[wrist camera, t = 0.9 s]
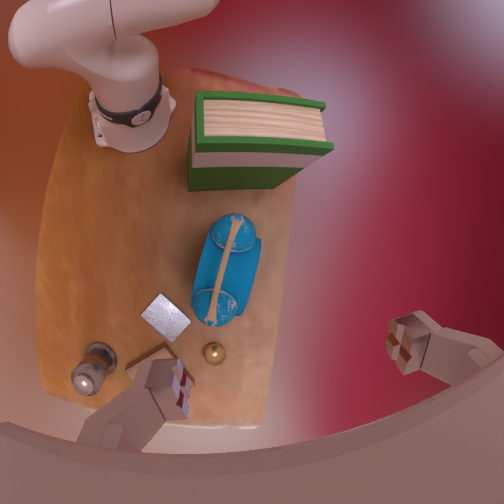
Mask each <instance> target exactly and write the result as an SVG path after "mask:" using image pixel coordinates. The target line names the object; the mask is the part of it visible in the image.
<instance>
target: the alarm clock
mask: <svg viewBox="0 0 504 504" xmlns="http://www.w3.org/2000/svg"><path fill="white" fill-rule="evenodd" d="M260 251H261V239H258V238H256V233H255V229H254V226H253V224H252V223H251V222H250V220H249V219H248V218H246V217H245V216H243V215H240V214H227V215H225V216H223V217H221V218H220V219H219V220H218V221H217V222H214V223H213V224H212V226H211V229H210V231H209V234H208V236H207V239H206V242H205V245H204V248H203V251H202V254H201V258H200V262H199V265H198V269H197V273H196V277H195V281H194V286H193V291H192V297H191V308H193V310H194V313H195V315H196V317H197V318H198V319H199V320H200V321H201V322H202V323H204V324H206V325H208V326H212V327H219V326H222V325H225V324H227V323H228V322H229V321H231V320H232V319H233V317H234V316H241V315H242V313H243V312H244V309H245V307H246V304H247V301H248V298H249V295H250V292H251V289H252V285H253V282H254V278H255V274H256V270H257V266H258V261H259V256H260Z"/></svg>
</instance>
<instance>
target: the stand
mask: <svg viewBox="0 0 504 504" xmlns="http://www.w3.org/2000/svg"><path fill="white" fill-rule="evenodd" d="M169 358H177V357H176V356H175V355H174V353H173V352H172V351H171V349H170V348H169V346H168V345H167V344H166V342H165V343H163V344H161V345H160V346H158V347H156V348H155V349H153V350H152V351H150V352H148V353H147V354H145V355H143V356H142V357H140V358H138V359H137V360H135V361H133V362H132V363H130V364H128V365H127V366H126V369H125V372H126V373H127V375H128V376H129V377H130V378H131V380H132V381H133V380H134V377H135V375H136V372H137V369H138V367H139V364H140V362H141V361H142V360H143V359H169ZM183 372H184V373H185V374H187V376H188V379H189V384H190V388H192V387H193V386H195V384H194V379H193V378H192V377H191V375H190V374H189V373H188V372H187V370H186V369H185V368H183Z"/></svg>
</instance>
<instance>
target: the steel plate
mask: <svg viewBox="0 0 504 504" xmlns="http://www.w3.org/2000/svg"><path fill="white" fill-rule="evenodd" d="M141 316H142V317H143V318H144V319H145V320H146V321H147V322H149V323H150V324H151V325H152V326H153V327H154V328H155V329H156V330H157V331H159V332H160V333H161V334H162V335H163V336H164V337H166V338H167V339H168V340H169V341H170V342H171V343H172V342H173V341H174V340H175V339H176V338H177V336H178V335H179V334H180V333H181V332H182V331H183V330H184V329H185V328H186V327H187V326H188V325H189V324H190V322H191V320H190V319H189V318H188V317H187V316H186V315H185V314H184V313H182V312H181V311H180V310H179V309H178V308H177V307H176V306H175V305H174V304H173V303H171V302H170V301H169V300H168V299H167V298H166V297H165V296H164V295H163V294H162V293H160V294H159V295H158V297H157V298H156V299H155V300H154V301H153V302H152V303H151V304H150V305H149V307H148V308H147V309H146V310H145V311H144V312H143V313H142V314H141Z"/></svg>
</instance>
